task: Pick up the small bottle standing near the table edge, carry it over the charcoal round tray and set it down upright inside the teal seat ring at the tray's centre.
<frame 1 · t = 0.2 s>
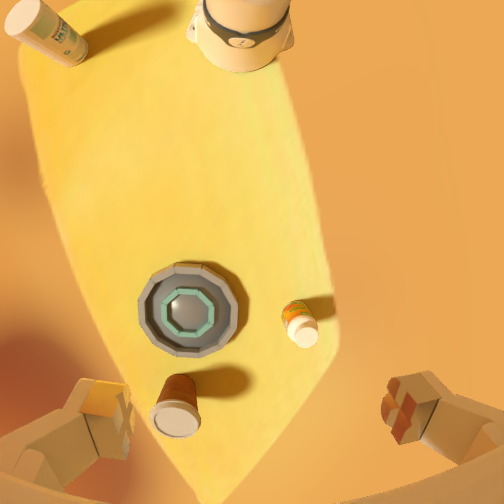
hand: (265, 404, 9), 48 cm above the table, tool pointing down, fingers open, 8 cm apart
round tray: (188, 309, 59), on the table
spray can: (74, 53, 44), on the table
supplement bottle: (294, 312, 61), on the table
disposable coffee cup: (180, 384, 63), on the table
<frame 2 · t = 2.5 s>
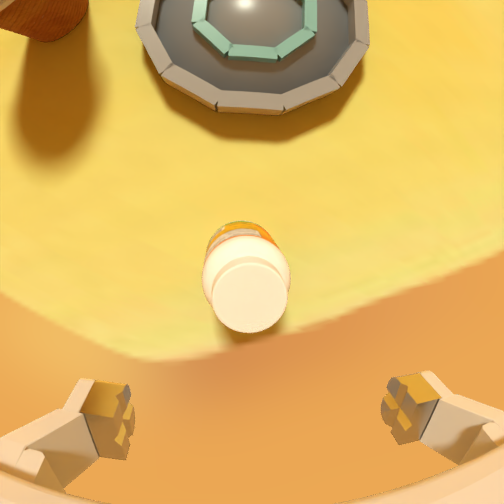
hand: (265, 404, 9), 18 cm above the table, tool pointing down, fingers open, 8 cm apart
round tray: (254, 15, 21), on the table
supplement bottle: (240, 252, 26), on the table
disposable coffee cup: (59, 14, 19), on the table
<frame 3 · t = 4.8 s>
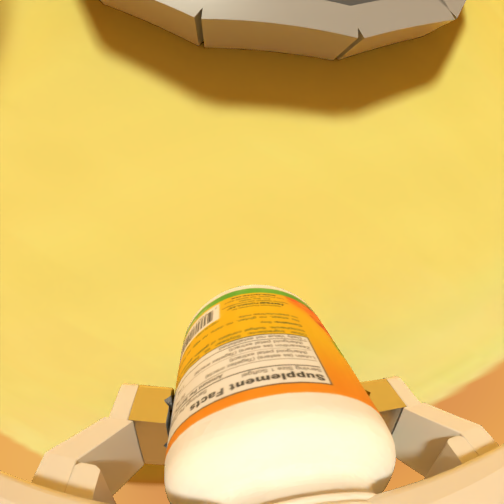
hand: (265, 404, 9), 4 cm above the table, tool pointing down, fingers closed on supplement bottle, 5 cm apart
supplement bottle: (253, 342, 13), on the table, touching gripper
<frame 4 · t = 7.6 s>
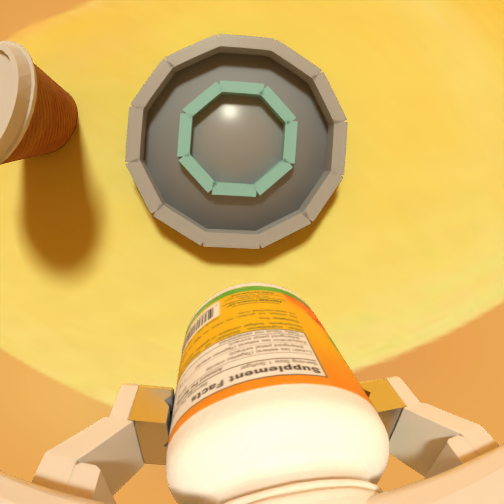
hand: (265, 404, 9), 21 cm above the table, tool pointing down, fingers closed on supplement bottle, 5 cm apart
round tray: (236, 139, 27), on the table
supplement bottle: (252, 339, 13), point 17 cm above the table, touching gripper
disposable coffee cup: (50, 121, 24), on the table
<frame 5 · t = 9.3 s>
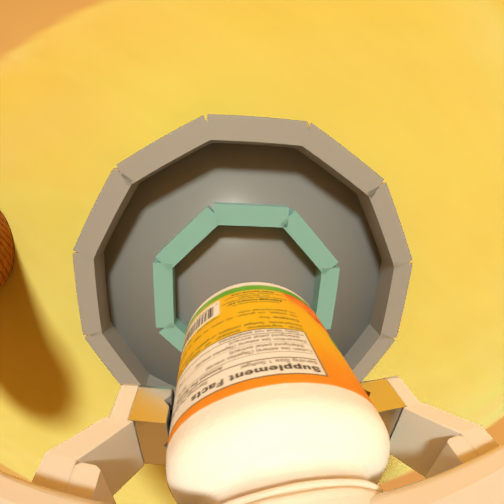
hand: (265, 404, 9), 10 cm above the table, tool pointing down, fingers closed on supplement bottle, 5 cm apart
round tray: (244, 287, 18), on the table
supplement bottle: (252, 338, 13), point 6 cm above the table, touching gripper
when the fingers open (6 cm above the table, at t = 10.4 s): supplement bottle drops 2 cm, resting on round tray.
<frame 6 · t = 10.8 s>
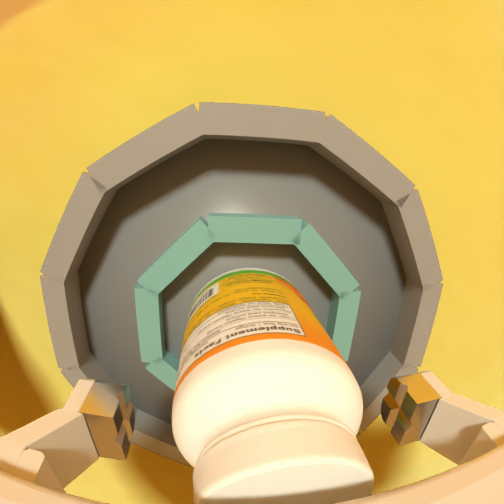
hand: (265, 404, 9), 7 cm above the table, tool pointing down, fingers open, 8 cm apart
round tray: (246, 313, 15), on the table
supplement bottle: (247, 319, 15), point 1 cm above the table, touching round tray
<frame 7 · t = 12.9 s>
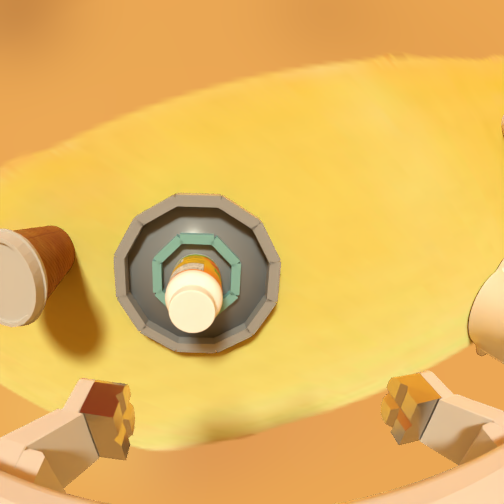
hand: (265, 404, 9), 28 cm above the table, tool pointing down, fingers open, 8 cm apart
round tray: (196, 273, 36), on the table
supplement bottle: (196, 275, 36), point 1 cm above the table, touching round tray
disposable coffee cup: (53, 250, 34), on the table
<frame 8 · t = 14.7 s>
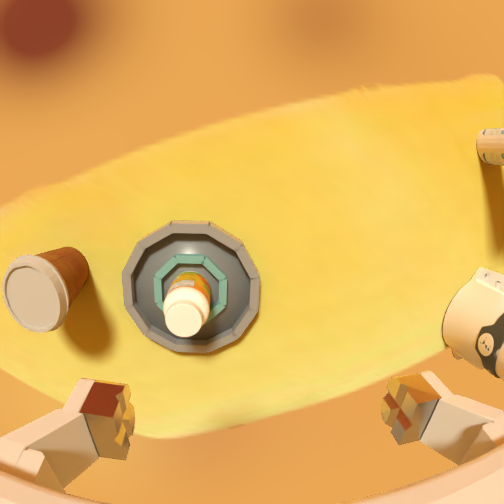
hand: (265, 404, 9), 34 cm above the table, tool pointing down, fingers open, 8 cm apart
round tray: (191, 286, 43), on the table
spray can: (486, 146, 43), on the table
supplement bottle: (190, 288, 43), point 1 cm above the table, touching round tray
disposable coffee cup: (70, 267, 41), on the table
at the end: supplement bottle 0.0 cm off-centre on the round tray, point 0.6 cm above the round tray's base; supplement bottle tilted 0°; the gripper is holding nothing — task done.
